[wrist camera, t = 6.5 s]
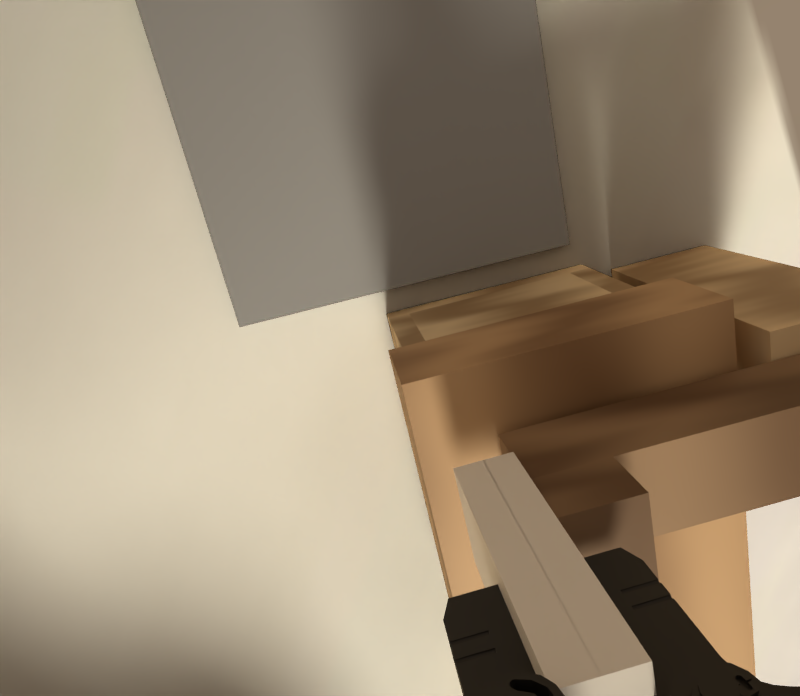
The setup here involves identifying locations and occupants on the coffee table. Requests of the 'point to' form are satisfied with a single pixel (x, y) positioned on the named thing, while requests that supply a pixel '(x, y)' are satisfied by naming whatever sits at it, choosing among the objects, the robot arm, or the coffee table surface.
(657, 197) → the coffee table surface
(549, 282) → the open wooden box
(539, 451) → the key
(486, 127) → the mat
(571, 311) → the lid
